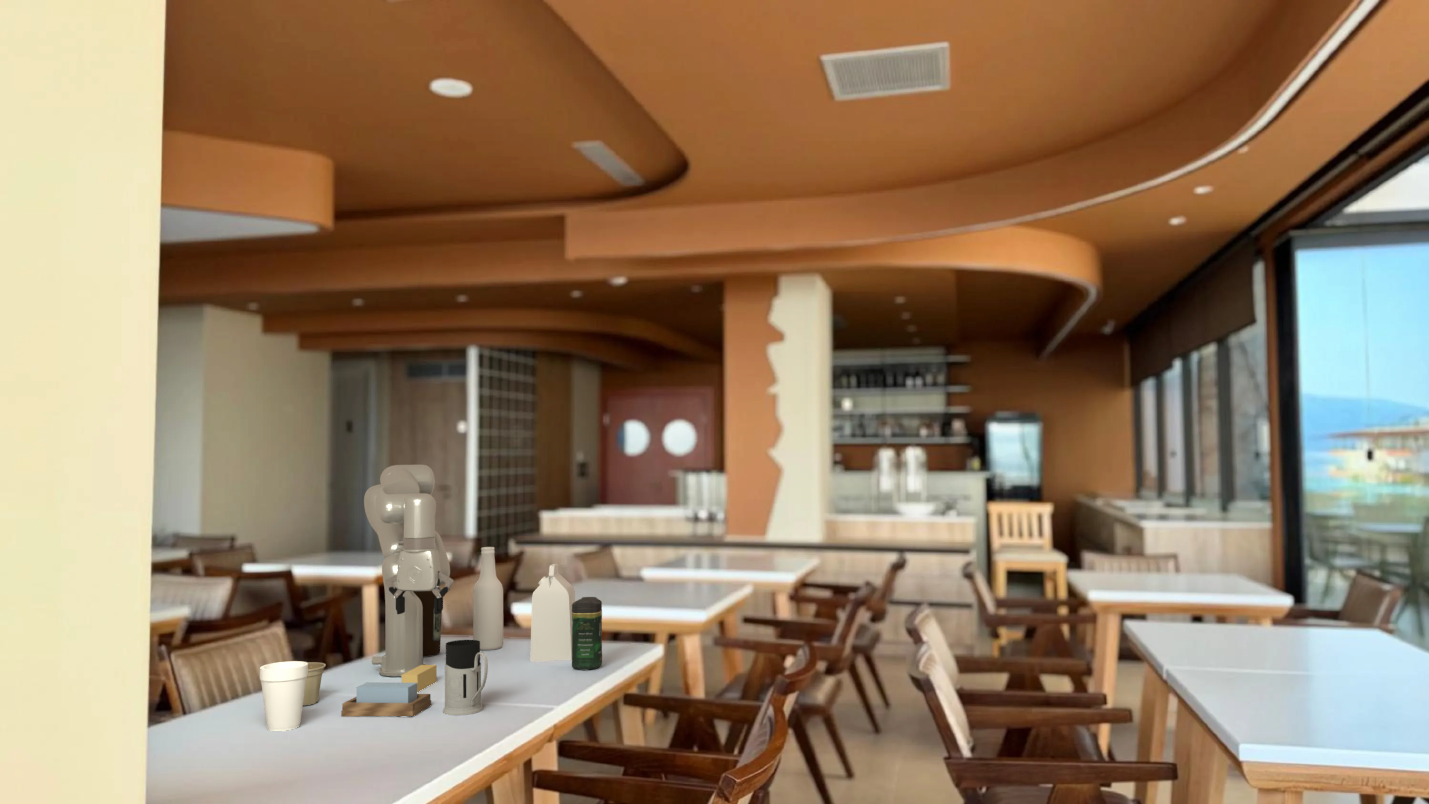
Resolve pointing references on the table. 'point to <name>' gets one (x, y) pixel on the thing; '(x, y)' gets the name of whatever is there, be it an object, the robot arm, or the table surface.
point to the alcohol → (488, 604)
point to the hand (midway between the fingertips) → (419, 613)
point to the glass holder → (463, 677)
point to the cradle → (386, 707)
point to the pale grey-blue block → (387, 692)
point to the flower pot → (313, 682)
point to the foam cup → (283, 693)
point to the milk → (552, 618)
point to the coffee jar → (587, 633)
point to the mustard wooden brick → (421, 676)
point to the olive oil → (430, 624)
